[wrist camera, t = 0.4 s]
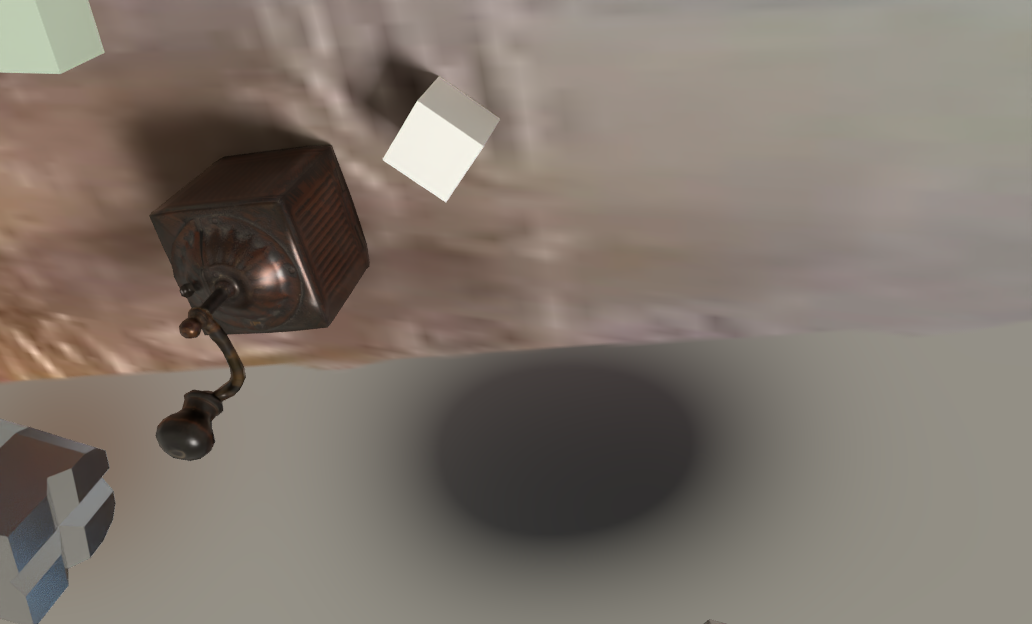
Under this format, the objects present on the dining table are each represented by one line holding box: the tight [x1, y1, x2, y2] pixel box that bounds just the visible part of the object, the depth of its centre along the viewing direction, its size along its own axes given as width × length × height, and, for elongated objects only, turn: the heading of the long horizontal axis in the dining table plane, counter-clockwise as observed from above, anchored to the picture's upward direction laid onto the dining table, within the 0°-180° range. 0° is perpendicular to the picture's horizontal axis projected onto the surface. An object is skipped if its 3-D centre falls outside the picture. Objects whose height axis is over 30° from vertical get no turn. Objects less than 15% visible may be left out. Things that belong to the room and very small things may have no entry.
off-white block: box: [383, 76, 500, 202], centre depth 55 cm, size 5×5×5 cm
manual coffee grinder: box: [149, 146, 369, 461], centre depth 58 cm, size 16×11×18 cm
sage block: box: [0, 0, 105, 74], centre depth 57 cm, size 5×5×5 cm
